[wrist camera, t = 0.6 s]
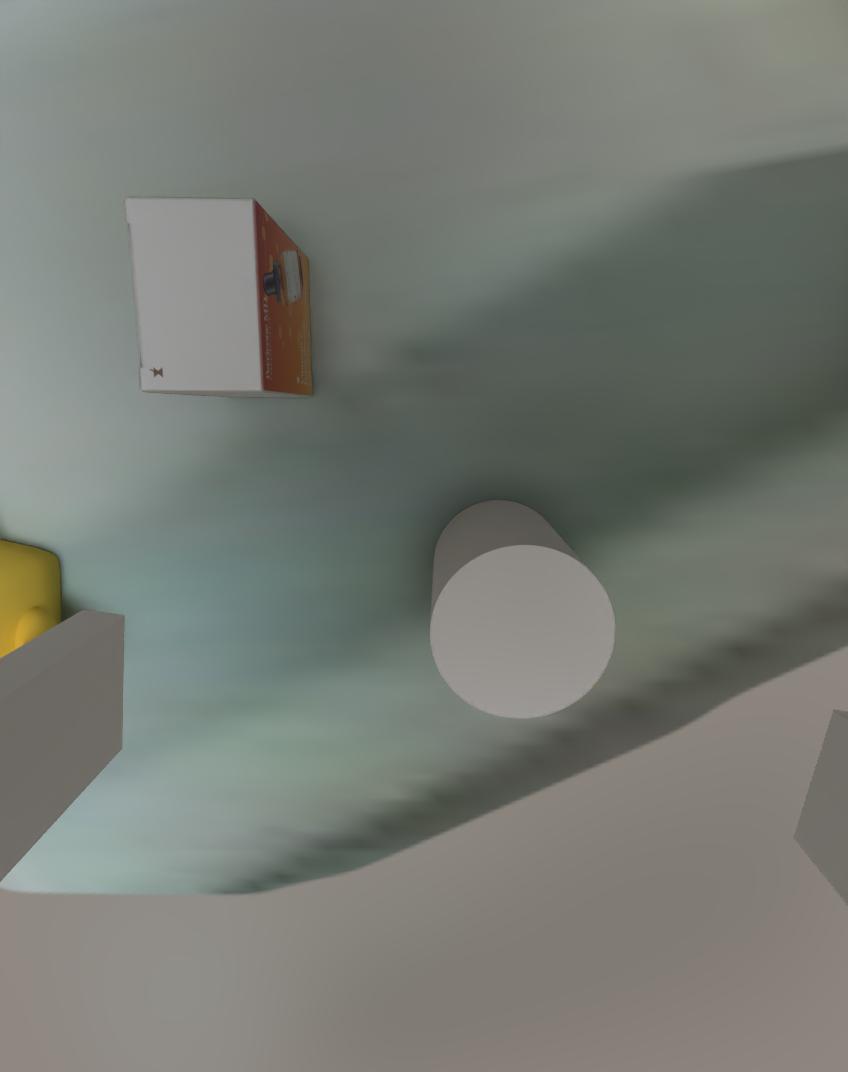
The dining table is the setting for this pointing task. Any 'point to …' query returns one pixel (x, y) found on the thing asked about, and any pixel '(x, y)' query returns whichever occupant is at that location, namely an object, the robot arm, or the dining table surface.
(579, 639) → the cup
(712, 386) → the dining table surface
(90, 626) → the robot arm
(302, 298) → the small box
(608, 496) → the dining table surface
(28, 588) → the teapot
